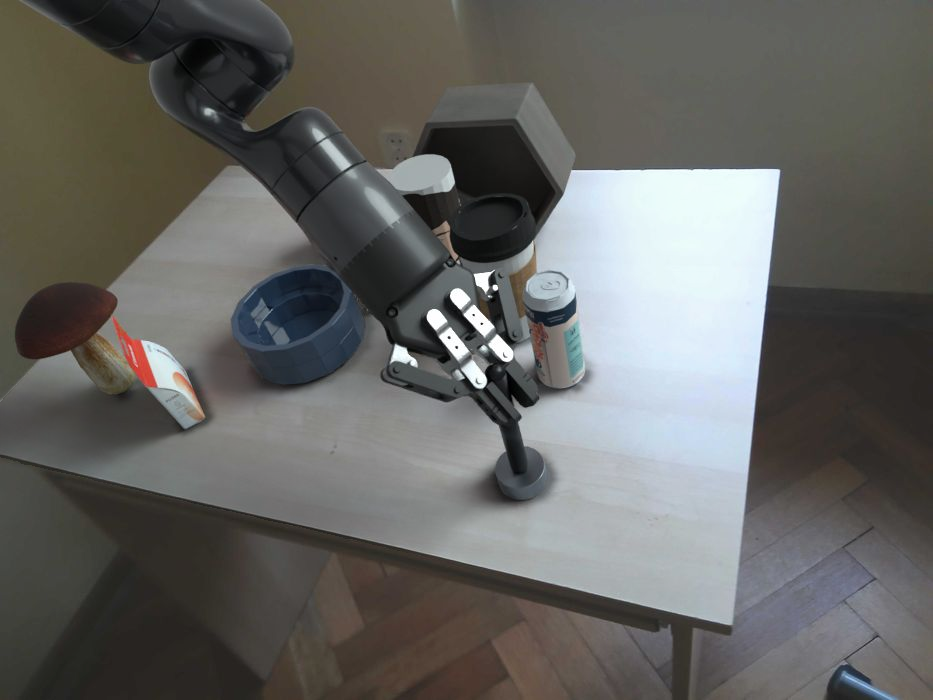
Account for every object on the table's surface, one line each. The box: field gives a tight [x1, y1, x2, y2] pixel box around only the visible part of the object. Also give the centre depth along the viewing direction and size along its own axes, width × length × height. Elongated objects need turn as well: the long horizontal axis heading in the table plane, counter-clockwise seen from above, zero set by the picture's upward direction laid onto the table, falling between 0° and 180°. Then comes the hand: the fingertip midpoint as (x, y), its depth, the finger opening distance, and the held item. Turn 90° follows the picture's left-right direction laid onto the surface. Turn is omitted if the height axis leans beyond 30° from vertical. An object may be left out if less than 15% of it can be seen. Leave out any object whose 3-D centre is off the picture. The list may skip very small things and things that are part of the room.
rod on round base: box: [484, 363, 548, 501], centre depth 58 cm, size 4×4×15 cm
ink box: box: [110, 314, 206, 430], centre depth 76 cm, size 3×9×12 cm, turn 31°
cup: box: [387, 154, 461, 265], centre depth 80 cm, size 7×7×15 cm
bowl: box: [230, 263, 367, 385], centre depth 80 cm, size 14×14×6 cm
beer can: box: [522, 269, 586, 389], centre depth 67 cm, size 5×5×12 cm
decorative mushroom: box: [14, 281, 136, 395], centre depth 78 cm, size 11×11×15 cm
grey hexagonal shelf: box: [412, 81, 577, 242], centre depth 83 cm, size 17×8×21 cm
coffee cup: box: [449, 193, 538, 344], centre depth 72 cm, size 8×8×15 cm
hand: (523, 412), depth 55 cm, fingers closed on rod on round base
